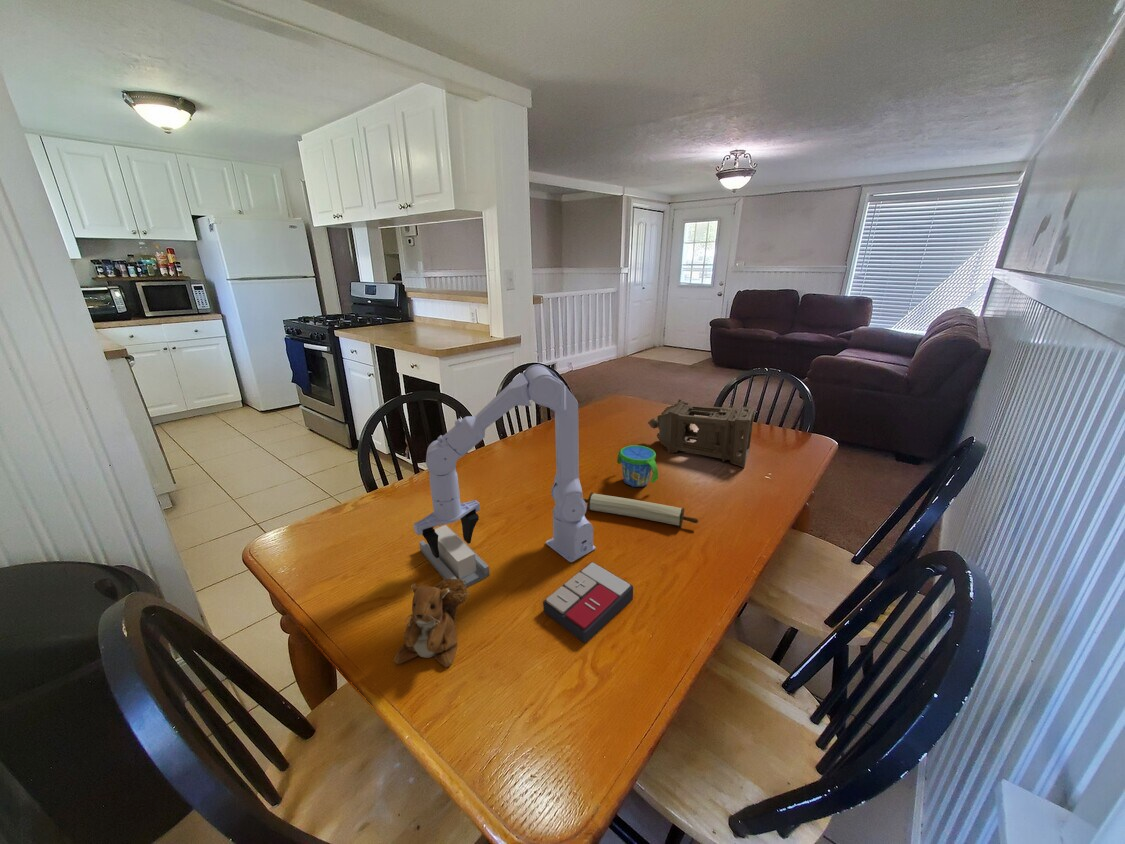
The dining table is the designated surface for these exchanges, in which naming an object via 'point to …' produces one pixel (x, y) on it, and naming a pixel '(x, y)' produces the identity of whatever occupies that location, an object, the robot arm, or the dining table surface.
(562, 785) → the dining table surface
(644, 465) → the snack cup
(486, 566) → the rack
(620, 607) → the calculator
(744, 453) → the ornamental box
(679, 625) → the dining table surface
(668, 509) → the rolling pin
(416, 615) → the stuffed squirrel
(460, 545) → the white rectangular block
